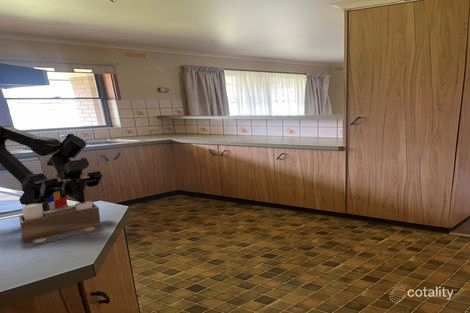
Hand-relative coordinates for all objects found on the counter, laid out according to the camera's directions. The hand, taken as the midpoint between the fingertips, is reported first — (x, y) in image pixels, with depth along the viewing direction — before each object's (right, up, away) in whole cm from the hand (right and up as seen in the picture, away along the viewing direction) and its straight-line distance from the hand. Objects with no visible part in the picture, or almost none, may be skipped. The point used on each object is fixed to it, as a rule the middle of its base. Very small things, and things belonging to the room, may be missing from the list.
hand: (83, 202), depth 103 cm
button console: (-5, -8, -3) cm, 10 cm away
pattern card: (-1, -9, -9) cm, 12 cm away
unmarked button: (-11, -6, -8) cm, 15 cm away
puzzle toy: (-27, -6, +26) cm, 38 cm away
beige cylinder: (0, -6, +1) cm, 7 cm away
